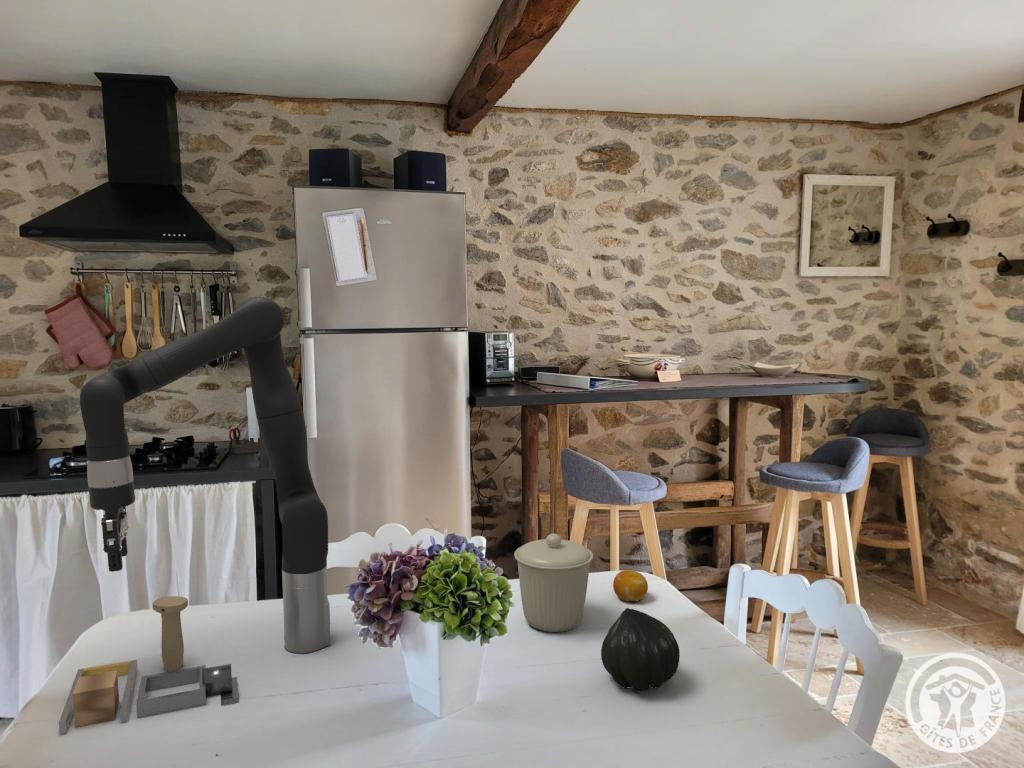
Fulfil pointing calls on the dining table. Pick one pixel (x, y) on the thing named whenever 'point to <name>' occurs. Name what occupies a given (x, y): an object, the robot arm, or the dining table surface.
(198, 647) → the dining table surface
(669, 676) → the squash
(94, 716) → the tan cardboard box
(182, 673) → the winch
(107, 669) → the bay
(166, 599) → the handle
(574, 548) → the canister
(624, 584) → the fruit
